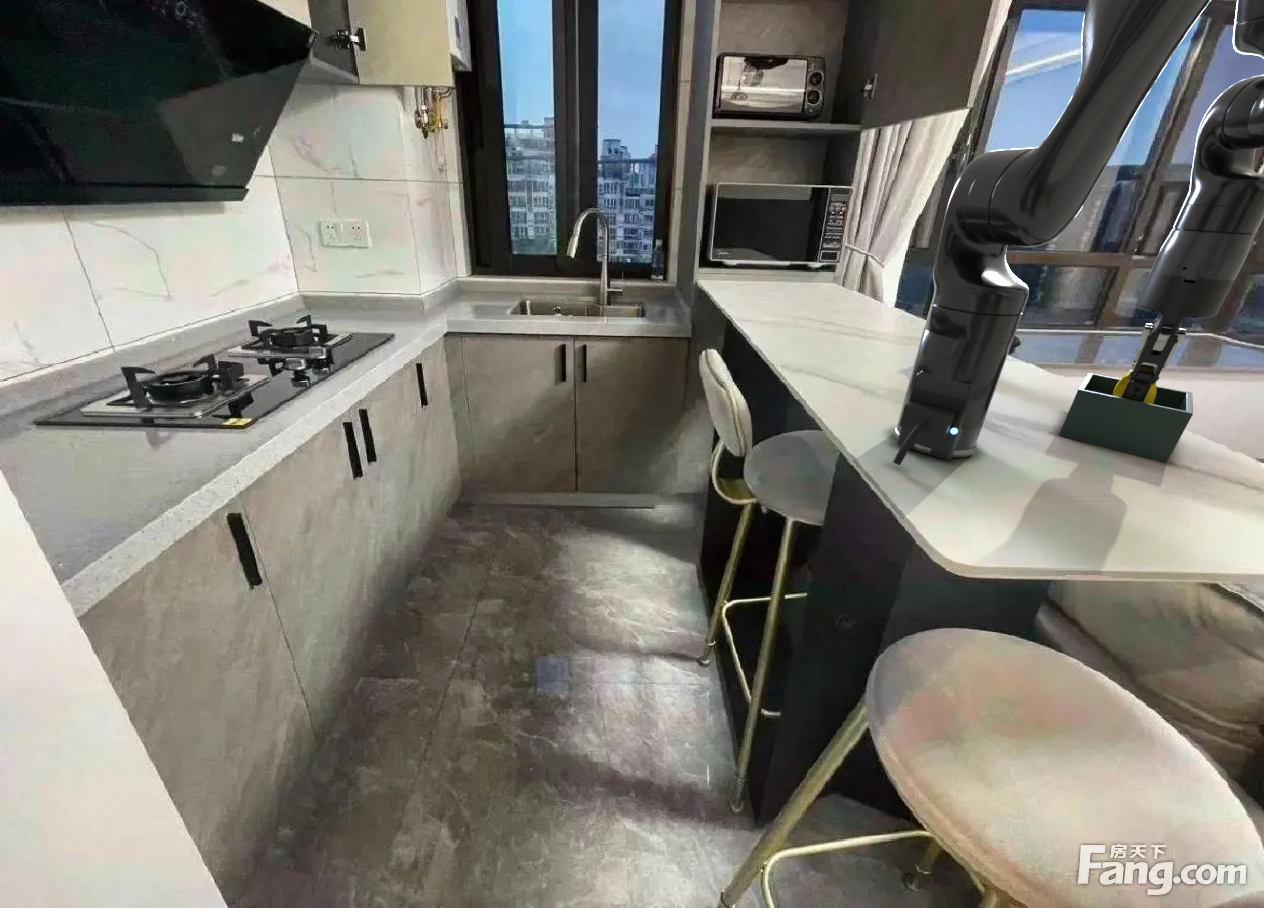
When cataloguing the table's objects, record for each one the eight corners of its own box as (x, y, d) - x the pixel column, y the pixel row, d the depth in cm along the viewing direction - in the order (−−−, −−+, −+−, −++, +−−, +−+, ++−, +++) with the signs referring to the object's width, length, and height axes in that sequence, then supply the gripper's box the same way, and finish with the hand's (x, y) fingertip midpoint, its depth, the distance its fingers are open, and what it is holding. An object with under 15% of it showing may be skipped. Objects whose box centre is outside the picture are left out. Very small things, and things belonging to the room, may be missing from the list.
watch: (1149, 424, 70) (1172, 380, 67) (1125, 421, 70) (1146, 377, 68) (1122, 408, 75) (1142, 366, 73) (1100, 405, 76) (1119, 364, 73)
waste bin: (1166, 462, 67) (1193, 413, 64) (1058, 435, 74) (1078, 389, 71) (1168, 437, 75) (1192, 392, 72) (1070, 414, 81) (1088, 372, 78)
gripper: (1154, 265, 72) (1099, 385, 79) (1149, 272, 62) (1087, 409, 70) (1232, 272, 67) (1167, 399, 75) (1240, 281, 58) (1164, 426, 65)
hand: (1129, 403), depth 72 cm, fingers closed on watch, 5 cm apart
